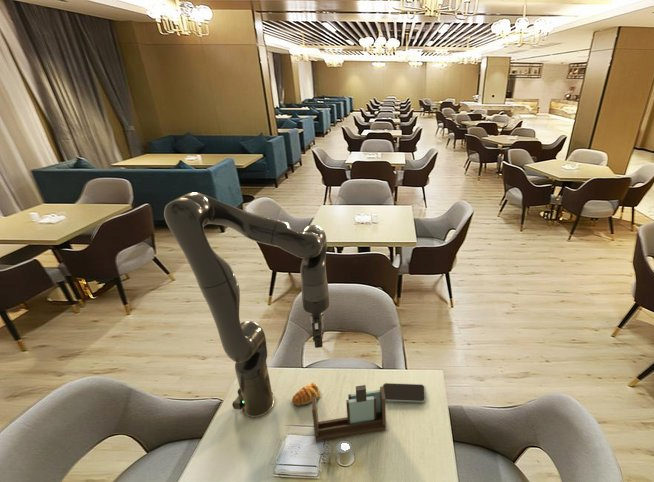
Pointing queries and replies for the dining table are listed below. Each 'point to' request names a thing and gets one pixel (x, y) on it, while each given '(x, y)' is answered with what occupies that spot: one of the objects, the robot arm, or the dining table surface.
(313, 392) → the pastry
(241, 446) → the dining table surface
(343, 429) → the window frame
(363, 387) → the sash
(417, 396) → the smartphone
